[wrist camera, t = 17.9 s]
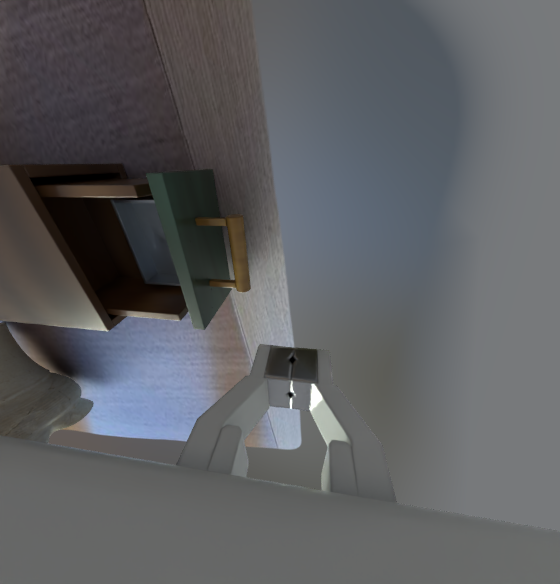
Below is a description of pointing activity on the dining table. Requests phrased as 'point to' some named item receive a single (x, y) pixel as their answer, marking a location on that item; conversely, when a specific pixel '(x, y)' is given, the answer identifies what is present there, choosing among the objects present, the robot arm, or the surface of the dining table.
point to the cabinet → (45, 252)
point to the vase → (34, 395)
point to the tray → (146, 239)
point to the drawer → (179, 235)
